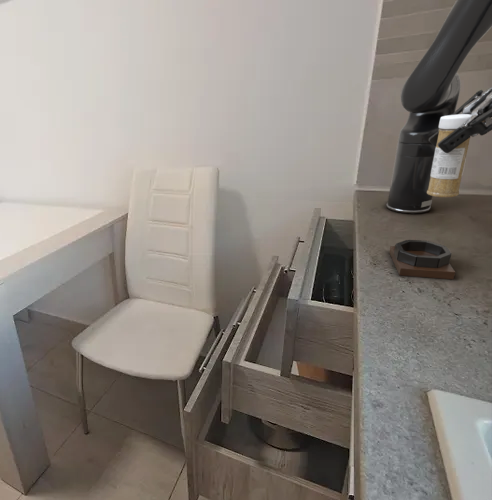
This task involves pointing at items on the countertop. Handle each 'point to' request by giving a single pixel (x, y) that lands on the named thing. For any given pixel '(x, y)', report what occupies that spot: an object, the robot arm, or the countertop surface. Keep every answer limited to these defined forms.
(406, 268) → the base pad
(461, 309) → the countertop surface
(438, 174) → the sprinkles bottle
